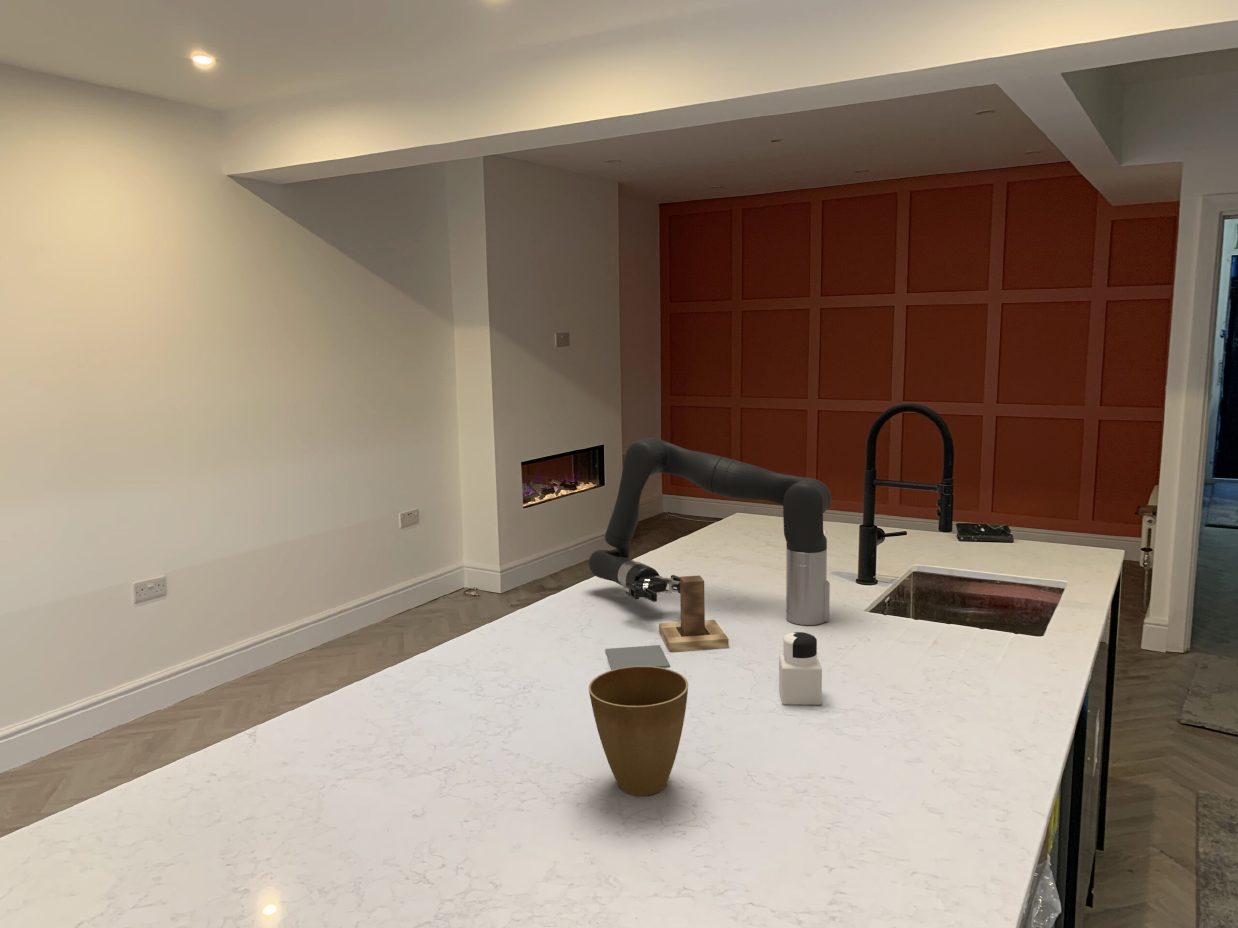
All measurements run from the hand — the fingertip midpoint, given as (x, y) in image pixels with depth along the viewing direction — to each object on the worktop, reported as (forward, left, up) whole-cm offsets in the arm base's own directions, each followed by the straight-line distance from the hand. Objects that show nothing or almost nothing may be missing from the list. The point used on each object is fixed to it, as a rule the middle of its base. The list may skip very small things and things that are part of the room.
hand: (671, 594), depth 200 cm
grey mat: (+11, +18, -8) cm, 22 cm away
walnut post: (-3, +9, -8) cm, 12 cm away
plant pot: (+18, +69, -8) cm, 71 cm away
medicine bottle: (-16, +43, -8) cm, 46 cm away
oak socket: (-3, +9, -8) cm, 12 cm away
